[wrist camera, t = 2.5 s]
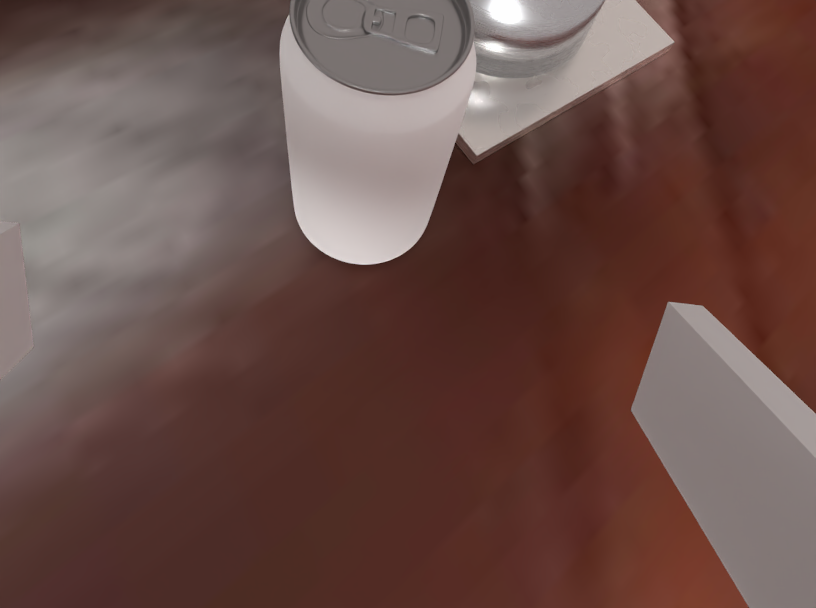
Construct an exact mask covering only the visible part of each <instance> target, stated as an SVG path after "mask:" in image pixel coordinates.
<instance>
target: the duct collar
mask: <svg viewBox="0 0 816 608" xmlns="http://www.w3.org/2000/svg"><path fill="white" fill-rule="evenodd" d="M469 2H470V4H471V7H472V10H473V14H474V19H475V36H474V46H475V51H476V73H475V79H474V84H473V88H472V91H471V95H470V98H469V101H468V104H467V108H466V111H465V114H464V117H463V120H462V123H461V126H460V129H459V132H458V135H457V138H456V144H457V145H458V146H459V147H460V149H461V150H462V151H463V152H464V154H465V155H466V156H467V157H468V159H469V160H470V161H471V162H472V164H473V165H474V164H475V163H477V162H479V161H480V160H482V159H484V158H486V157H487V156H489V155H491V154H493V153H494V152H496V151H498V150H499V149H501V148H503V147H505V146H506V145H508V144H510V143H512V142H513V141H515V140H517V139H518V138H520V137H522V136H524V135H525V134H527V133H529V132H531V131H532V130H534V129H536V128H537V127H539V126H541V125H543V124H544V123H546V122H548V121H550V120H551V119H553V118H555V117H556V116H558V115H560V114H562V113H563V112H565V111H567V110H569V109H570V108H572V107H574V106H575V105H577V104H579V103H581V102H582V101H584V100H586V99H588V98H589V97H591V96H593V95H594V94H596V93H598V92H600V91H601V90H603V89H605V88H607V87H608V86H610V85H612V84H613V83H615V82H617V81H619V80H620V79H622V78H624V77H626V76H627V75H629V74H631V73H632V72H634V71H636V70H638V69H639V68H641V67H643V66H645V65H646V64H648V63H650V62H651V61H653V60H655V59H657V58H658V57H660V56H662V55H664V54H665V53H667V52H668V51H669V49H670V48H671V46H672V45H673V44H674V41H673V40H672V39H671V38H670V37H669V36H668V35H667V34H666V32H665V31H664V30H663V29H662V28H661V27H660V26H659V25H658V24H657V23H656V22H655V21H654V20H653V19H652V18H651V17H650V15H649V14H648V13H647V12H646V11H645V10H644V9H643V8H642V7H641V6H640V5H639V4H638V3H637V2H636V1H635V0H469Z"/></svg>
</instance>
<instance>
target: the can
mask: <svg viewBox="0 0 816 608" xmlns="http://www.w3.org/2000/svg"><path fill="white" fill-rule="evenodd" d="M474 36H475V19H474V14H473V10H472V7H471V4H470V2H469V0H291V2H290V10H289V15H288V17H287V19H286V22H285V24H284V27H283V30H282V34H281V39H280V52H279V55H280V73H281V85H282V96H283V106H284V117H285V127H286V137H287V147H288V157H289V166H290V176H291V185H292V195H293V203H294V210H295V215H296V218H297V221H298V224H299V226H300V228H301V230H302V231H303V233H304V234H305V236H306V237H307V238H308V239H309V241H310V242H311V243H312V244H313V245H314V246H316V247H317V248H318V249H319V250H321V251H322V252H324V253H325V254H327V255H329V256H331V257H333V258H335V259H337V260H340V261H343V262H347V263H352V264H362V265H368V264H377V263H382V262H386V261H389V260H392V259H394V258H396V257H398V256H400V255H402V254H404V253H405V252H406V251H408V250H409V249H410V248H411V247H412V246H414V245H415V243H416V242H417V241H418V240H419V239H420V237H421V236H422V234H423V232H424V230H425V228H426V226H427V224H428V221H429V219H430V216H431V213H432V210H433V207H434V204H435V201H436V199H437V196H438V193H439V190H440V187H441V184H442V181H443V178H444V175H445V172H446V169H447V166H448V163H449V160H450V157H451V154H452V151H453V148H454V145H455V142H456V138H457V135H458V132H459V129H460V126H461V123H462V120H463V117H464V114H465V111H466V108H467V104H468V101H469V98H470V95H471V91H472V88H473V84H474V79H475V73H476V51H475V46H474Z"/></svg>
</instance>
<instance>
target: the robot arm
mask: <svg viewBox="0 0 816 608" xmlns="http://www.w3.org/2000/svg"><path fill="white" fill-rule="evenodd" d="M33 348H34V343H33V334H32V326H31V317H30V309H29V300H28V292H27V283H26V275H25V266H24V258H23V249H22V241H21V232H20V224H19V223H15V222H7V221H0V380H1V379H2V378H3V377H4V376H5V375H6V374H7V373H8V372H9V371H10V370H11V369H12V368H13V367H14V366H15V365H16V364H17V363H18V362H19V361H20V360H21V359H22V358H23V357H24V356H26V355H27V354H28V353H29V352H30V351H31V350H32V349H33ZM631 411H632V413H633V415H634V416H635V418H636V420H637V421H638V423H639V425H640V426H641V428H642V430H643V431H644V433H645V435H646V436H647V438H648V440H649V441H650V443H651V445H652V446H653V448H654V450H655V451H656V453H657V455H658V456H659V458H660V460H661V461H662V463H663V465H664V466H665V468H666V470H667V471H668V473H669V475H670V476H671V478H672V480H673V481H674V483H675V485H676V486H677V488H678V490H679V491H680V493H681V495H682V496H683V498H684V500H685V501H686V503H687V505H688V506H689V508H690V510H691V511H692V513H693V515H694V516H695V518H696V520H697V521H698V523H699V525H700V526H701V528H702V530H703V531H704V533H705V535H706V536H707V538H708V540H709V541H710V543H711V545H712V546H713V548H714V550H715V551H716V553H717V555H718V556H719V558H720V560H721V561H722V563H723V565H724V566H725V568H726V570H727V571H728V573H729V575H730V576H731V578H732V580H733V581H734V583H735V585H736V586H737V588H738V590H739V591H740V593H741V595H742V596H743V598H744V600H745V601H746V603H747V605H748V606H749V608H816V414H815V413H814V412H813V411H812V410H811V409H810V408H809V407H808V406H807V405H806V404H805V403H804V402H803V401H802V400H801V399H800V398H798V397H797V396H796V395H795V394H794V393H793V392H792V391H791V390H790V389H789V388H788V387H787V386H786V385H785V384H784V383H783V382H782V381H781V380H780V379H779V378H778V377H777V376H775V375H774V374H773V373H772V372H771V371H770V370H769V369H768V368H767V367H766V366H765V365H764V364H763V363H762V362H761V361H760V360H759V359H758V358H757V357H756V356H755V355H754V354H752V353H751V352H750V351H749V350H748V349H747V348H746V347H745V346H744V345H743V344H742V343H741V342H740V341H739V340H738V339H737V338H736V337H735V336H734V335H733V334H732V333H731V332H730V331H728V330H727V329H726V328H725V327H724V326H723V325H722V324H721V323H720V322H719V321H718V320H717V319H716V318H715V317H714V316H713V315H712V314H711V313H710V312H709V311H708V310H707V309H705V308H704V307H703V306H699V305H691V304H683V303H674V302H668V304H667V307H666V310H665V313H664V316H663V319H662V321H661V324H660V327H659V330H658V333H657V336H656V339H655V342H654V345H653V348H652V350H651V353H650V356H649V359H648V362H647V365H646V368H645V371H644V374H643V377H642V379H641V382H640V385H639V388H638V391H637V394H636V397H635V400H634V403H633V405H632V408H631Z"/></svg>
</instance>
